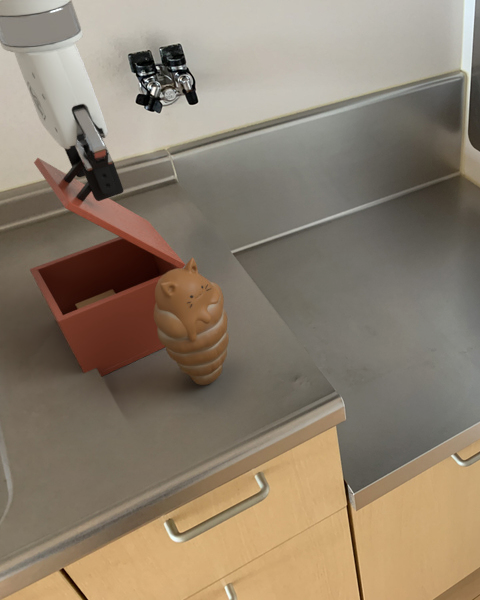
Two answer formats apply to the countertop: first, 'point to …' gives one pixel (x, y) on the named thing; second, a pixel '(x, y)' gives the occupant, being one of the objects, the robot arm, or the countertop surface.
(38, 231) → the countertop surface
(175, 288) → the cat ice cream
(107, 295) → the carton
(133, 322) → the trash can
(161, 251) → the bin lid
